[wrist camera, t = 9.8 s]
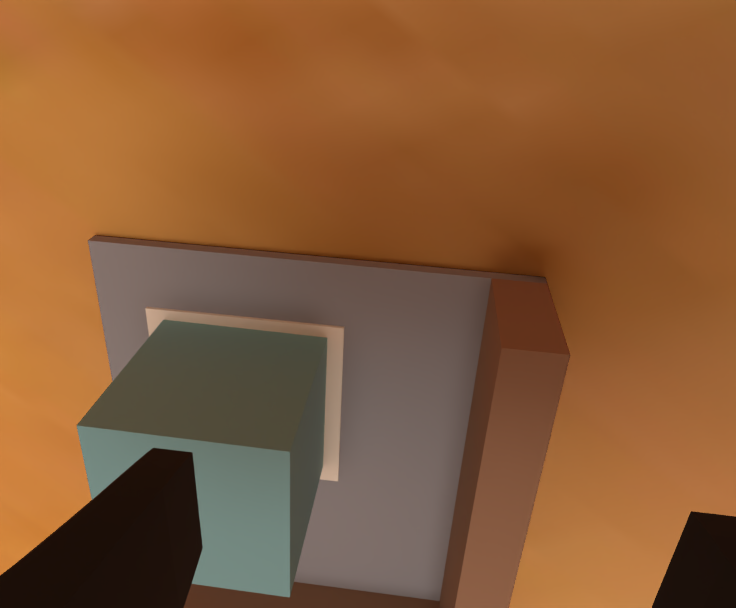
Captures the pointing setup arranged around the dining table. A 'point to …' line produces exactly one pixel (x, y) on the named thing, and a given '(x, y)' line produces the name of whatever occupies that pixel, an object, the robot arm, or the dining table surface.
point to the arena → (379, 408)
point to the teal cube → (224, 440)
